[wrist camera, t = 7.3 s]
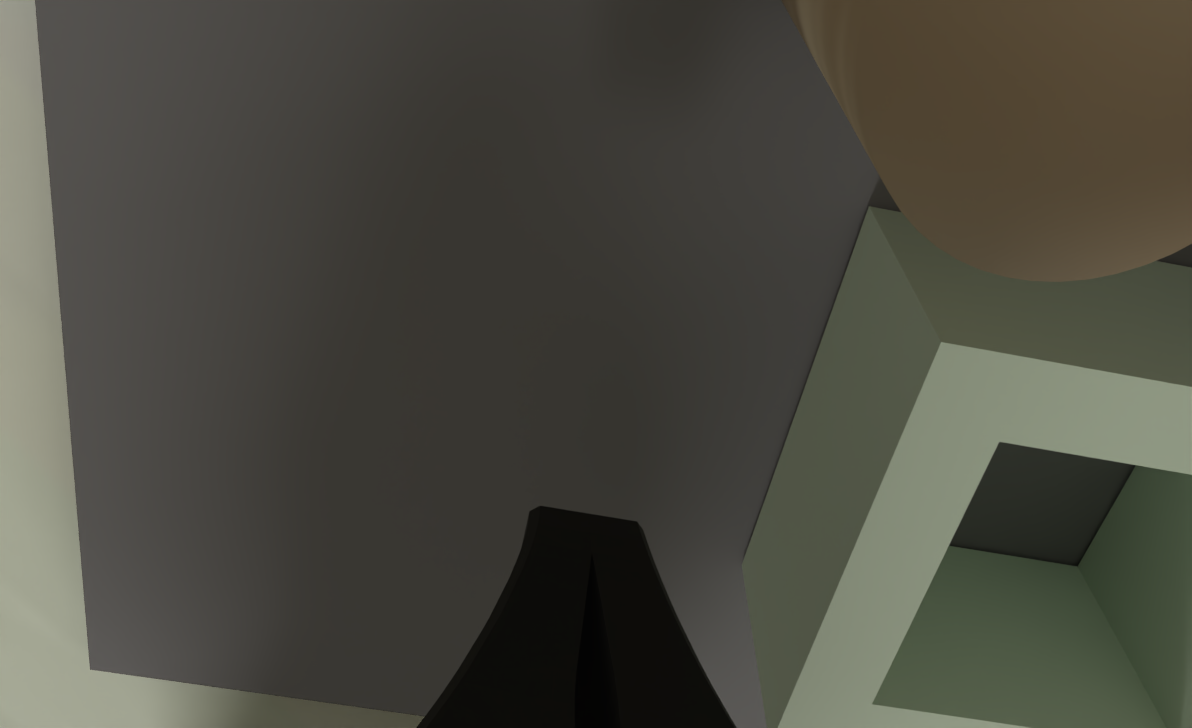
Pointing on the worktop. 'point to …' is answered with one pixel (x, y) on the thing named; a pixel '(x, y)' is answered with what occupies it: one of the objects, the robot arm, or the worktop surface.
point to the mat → (446, 320)
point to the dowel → (1021, 124)
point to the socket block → (946, 486)
